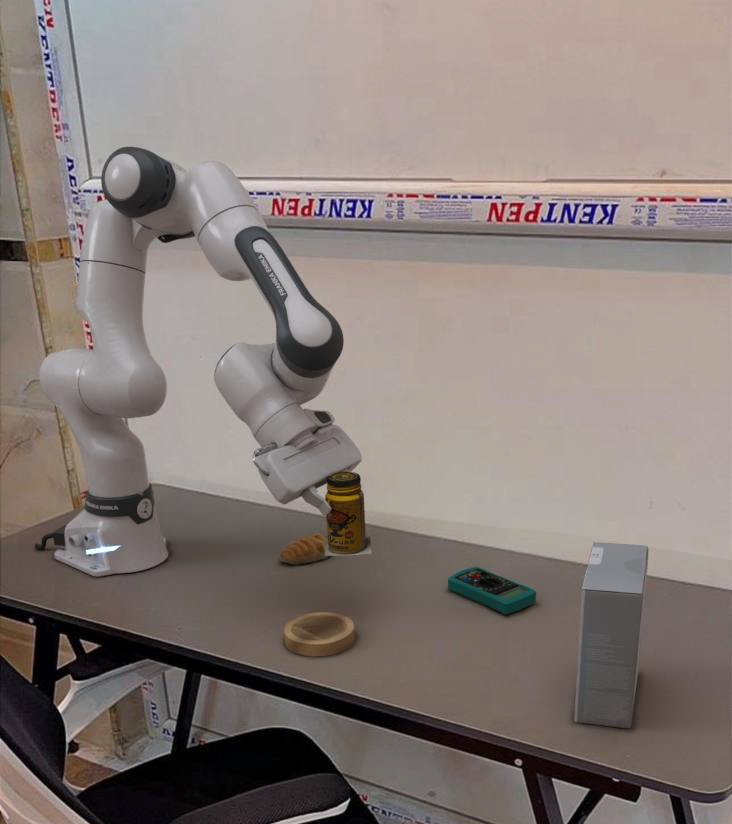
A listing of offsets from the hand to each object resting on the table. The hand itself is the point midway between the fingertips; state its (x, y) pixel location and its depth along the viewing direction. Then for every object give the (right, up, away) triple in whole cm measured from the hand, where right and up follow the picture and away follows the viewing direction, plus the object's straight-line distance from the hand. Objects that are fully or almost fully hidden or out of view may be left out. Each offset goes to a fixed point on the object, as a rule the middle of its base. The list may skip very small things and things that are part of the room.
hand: (343, 505), depth 152 cm
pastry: (-8, -6, +31) cm, 33 cm away
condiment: (+1, -6, +4) cm, 7 cm away
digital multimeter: (+25, -14, +13) cm, 31 cm away
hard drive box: (+37, -29, -17) cm, 50 cm away
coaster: (-4, -21, +1) cm, 21 cm away
